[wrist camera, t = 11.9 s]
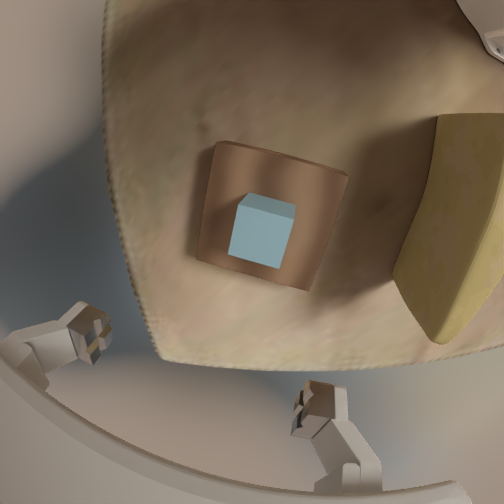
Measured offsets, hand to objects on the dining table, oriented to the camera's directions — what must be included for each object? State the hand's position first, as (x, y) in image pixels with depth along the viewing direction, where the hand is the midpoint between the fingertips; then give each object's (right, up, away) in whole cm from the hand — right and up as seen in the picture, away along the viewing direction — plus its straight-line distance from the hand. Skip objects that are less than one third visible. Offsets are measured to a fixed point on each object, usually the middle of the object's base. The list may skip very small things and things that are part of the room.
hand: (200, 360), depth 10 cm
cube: (+4, +7, +19) cm, 21 cm away
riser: (+4, +9, +23) cm, 25 cm away
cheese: (+25, +10, +19) cm, 33 cm away
